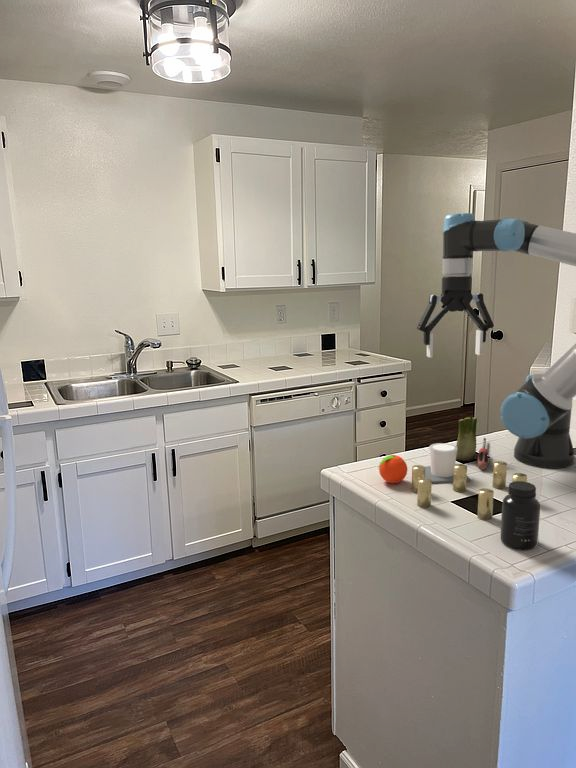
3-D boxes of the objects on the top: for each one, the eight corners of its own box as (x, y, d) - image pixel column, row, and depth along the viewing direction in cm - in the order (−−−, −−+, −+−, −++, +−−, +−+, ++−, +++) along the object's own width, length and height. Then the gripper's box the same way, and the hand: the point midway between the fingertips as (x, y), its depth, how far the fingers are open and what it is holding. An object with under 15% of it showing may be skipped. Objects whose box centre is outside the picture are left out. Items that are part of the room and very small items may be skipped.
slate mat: (456, 467, 153) (456, 464, 153) (470, 481, 143) (470, 479, 143) (415, 469, 152) (415, 467, 152) (427, 483, 143) (427, 481, 143)
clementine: (386, 490, 139) (387, 462, 138) (369, 481, 145) (370, 454, 144) (412, 484, 143) (413, 456, 141) (395, 475, 149) (395, 448, 147)
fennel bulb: (474, 456, 160) (476, 415, 158) (478, 463, 156) (480, 420, 153) (453, 456, 161) (454, 415, 158) (456, 463, 156) (458, 420, 154)
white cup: (457, 478, 144) (458, 452, 142) (429, 477, 145) (430, 450, 144) (455, 468, 150) (456, 443, 149) (428, 467, 152) (428, 442, 150)
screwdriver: (479, 442, 173) (480, 432, 172) (489, 443, 172) (490, 433, 171) (475, 471, 150) (476, 460, 149) (487, 472, 149) (488, 462, 148)
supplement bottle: (495, 534, 117) (498, 478, 114) (529, 534, 116) (533, 478, 114) (506, 551, 110) (510, 492, 107) (543, 551, 110) (548, 492, 107)
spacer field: (506, 483, 142) (507, 460, 140) (544, 517, 124) (546, 490, 122) (406, 489, 140) (406, 465, 139) (430, 523, 122) (430, 497, 121)
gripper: (496, 273, 155) (492, 351, 160) (406, 276, 153) (404, 355, 157) (509, 274, 148) (505, 355, 153) (414, 277, 146) (413, 360, 150)
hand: (454, 355), depth 155 cm, fingers open, 13 cm apart
